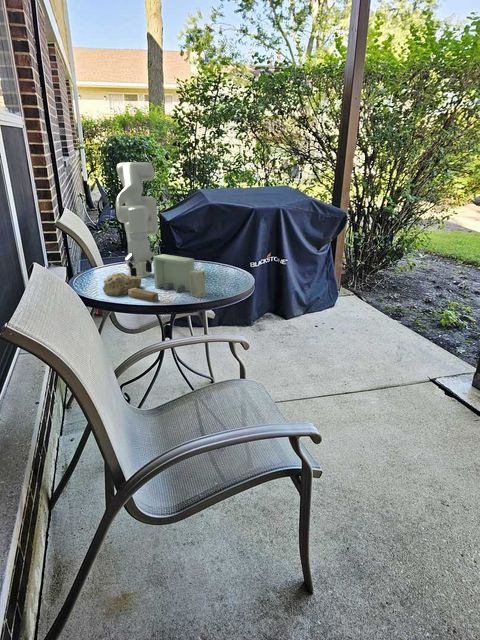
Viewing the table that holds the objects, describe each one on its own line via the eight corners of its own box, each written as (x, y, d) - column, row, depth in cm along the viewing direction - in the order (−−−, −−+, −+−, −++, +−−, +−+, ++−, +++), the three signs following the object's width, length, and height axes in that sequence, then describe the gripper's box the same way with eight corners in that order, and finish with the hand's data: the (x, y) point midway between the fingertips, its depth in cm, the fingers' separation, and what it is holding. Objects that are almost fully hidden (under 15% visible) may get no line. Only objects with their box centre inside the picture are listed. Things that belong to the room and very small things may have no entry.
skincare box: (206, 296, 197) (205, 271, 193) (199, 298, 194) (198, 272, 190) (196, 293, 201) (196, 268, 197) (190, 295, 198) (189, 270, 194)
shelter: (155, 288, 209) (152, 256, 204) (164, 285, 215) (162, 254, 209) (186, 294, 200) (184, 261, 194) (195, 291, 205) (194, 258, 199)
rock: (118, 285, 217) (121, 267, 214) (142, 294, 215) (146, 275, 212) (95, 292, 198) (98, 272, 195) (122, 302, 195) (125, 282, 192)
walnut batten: (152, 302, 188) (152, 294, 187) (128, 297, 196) (128, 289, 194) (158, 300, 192) (158, 292, 190) (135, 294, 199) (134, 287, 198)
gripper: (146, 233, 192) (148, 269, 198) (117, 238, 178) (121, 276, 184) (158, 234, 188) (160, 271, 194) (130, 239, 174) (133, 279, 180)
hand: (141, 274), depth 189 cm, fingers open, 9 cm apart
